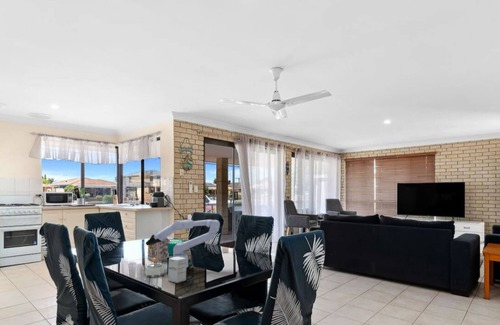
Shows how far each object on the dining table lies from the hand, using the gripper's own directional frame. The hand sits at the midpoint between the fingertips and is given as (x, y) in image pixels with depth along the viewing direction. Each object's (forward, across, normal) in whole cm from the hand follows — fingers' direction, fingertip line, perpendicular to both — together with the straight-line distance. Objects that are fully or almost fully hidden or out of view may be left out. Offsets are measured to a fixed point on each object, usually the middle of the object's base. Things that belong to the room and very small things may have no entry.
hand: (148, 244), depth 208 cm
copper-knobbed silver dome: (-1, +13, +16) cm, 21 cm away
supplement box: (-11, +26, +31) cm, 42 cm away
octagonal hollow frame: (+2, +13, +20) cm, 24 cm away
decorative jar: (+7, -29, +10) cm, 32 cm away
